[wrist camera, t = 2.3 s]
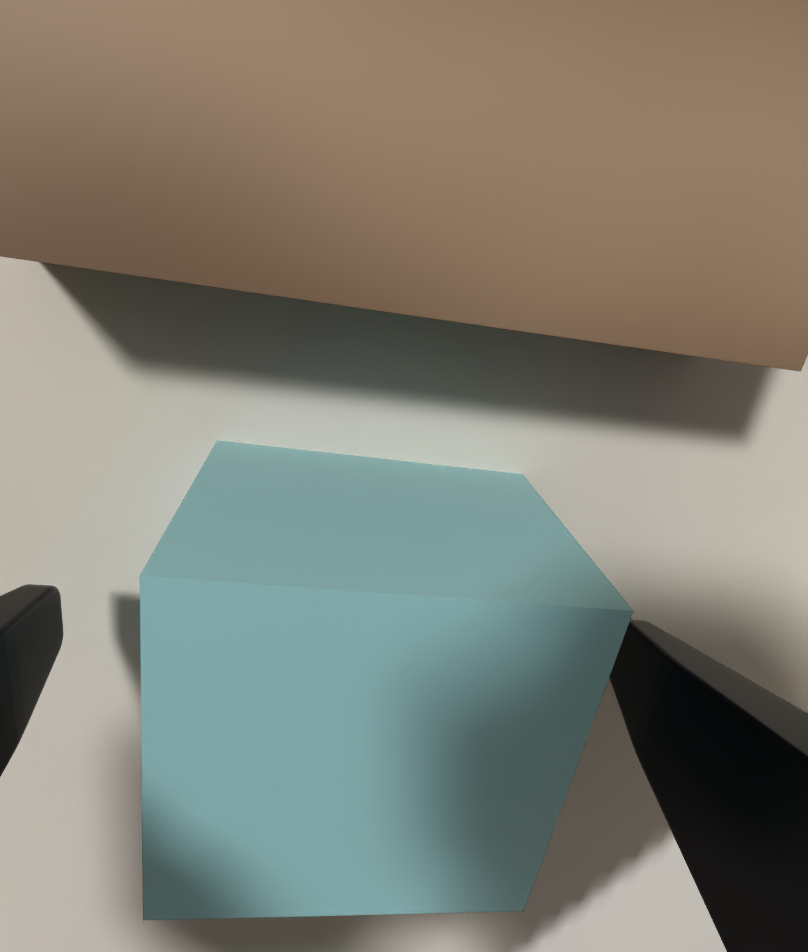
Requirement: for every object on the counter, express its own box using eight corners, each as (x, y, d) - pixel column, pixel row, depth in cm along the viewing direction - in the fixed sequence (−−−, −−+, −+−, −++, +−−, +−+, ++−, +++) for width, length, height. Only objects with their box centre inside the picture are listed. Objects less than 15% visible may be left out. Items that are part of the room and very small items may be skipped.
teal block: (463, 698, 12) (523, 910, 8) (207, 687, 11) (143, 919, 7) (520, 471, 10) (633, 610, 6) (218, 437, 9) (138, 575, 5)
